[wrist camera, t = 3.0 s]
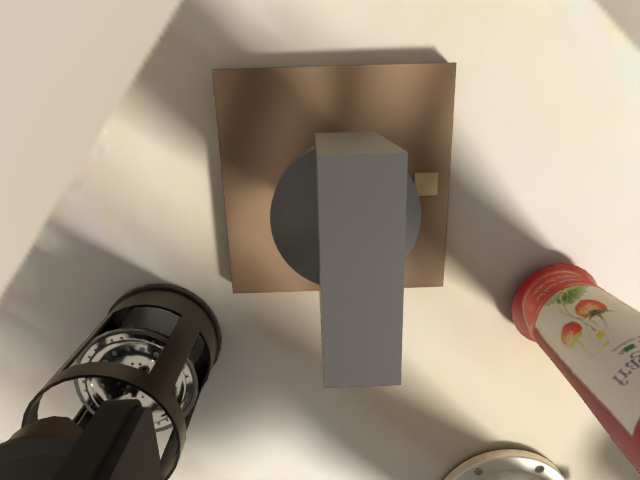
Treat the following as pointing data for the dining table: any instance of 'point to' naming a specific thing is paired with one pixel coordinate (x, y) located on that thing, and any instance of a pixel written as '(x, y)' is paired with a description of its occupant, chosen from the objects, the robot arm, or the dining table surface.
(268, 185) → the post mount
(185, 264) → the dining table surface
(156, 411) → the french press
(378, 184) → the lever handle
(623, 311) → the red sauce bottle
